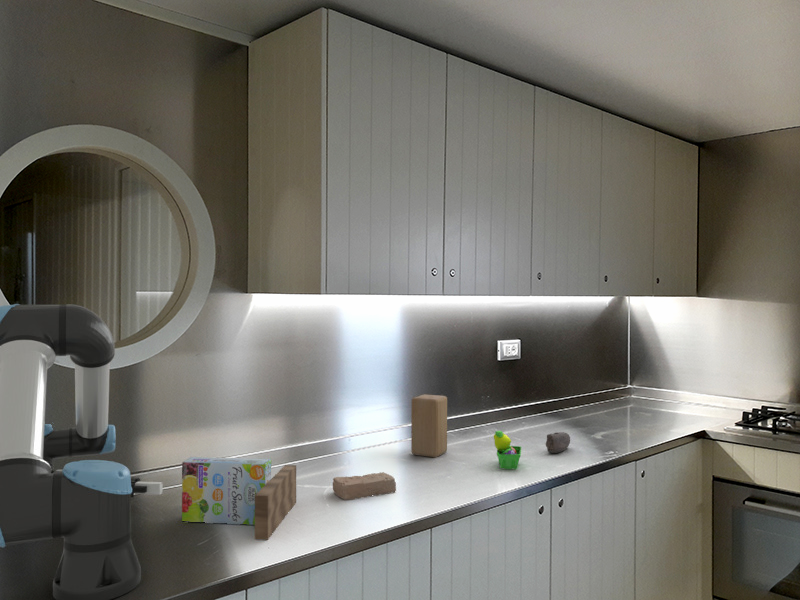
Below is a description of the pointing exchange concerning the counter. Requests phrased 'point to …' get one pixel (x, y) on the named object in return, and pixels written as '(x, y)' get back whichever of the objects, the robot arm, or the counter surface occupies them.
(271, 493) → the walnut board
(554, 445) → the perforated stone tool
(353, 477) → the brick
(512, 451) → the fruit basket
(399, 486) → the counter surface
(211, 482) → the snack box
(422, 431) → the block
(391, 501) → the counter surface
